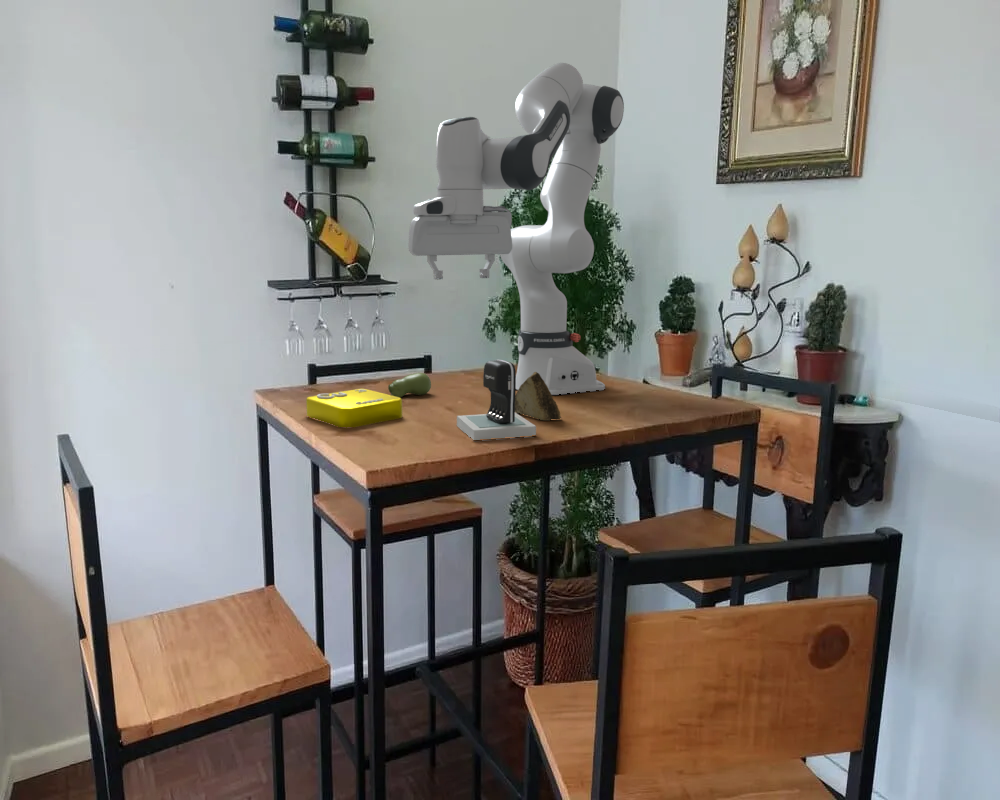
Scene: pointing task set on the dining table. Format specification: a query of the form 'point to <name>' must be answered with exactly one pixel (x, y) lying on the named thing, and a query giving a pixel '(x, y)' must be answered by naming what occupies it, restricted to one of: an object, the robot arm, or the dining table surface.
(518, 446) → the dining table surface
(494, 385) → the battery charger
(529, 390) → the rock
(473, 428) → the plate
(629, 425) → the dining table surface
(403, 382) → the pear
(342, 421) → the element tile
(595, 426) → the dining table surface
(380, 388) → the dining table surface
